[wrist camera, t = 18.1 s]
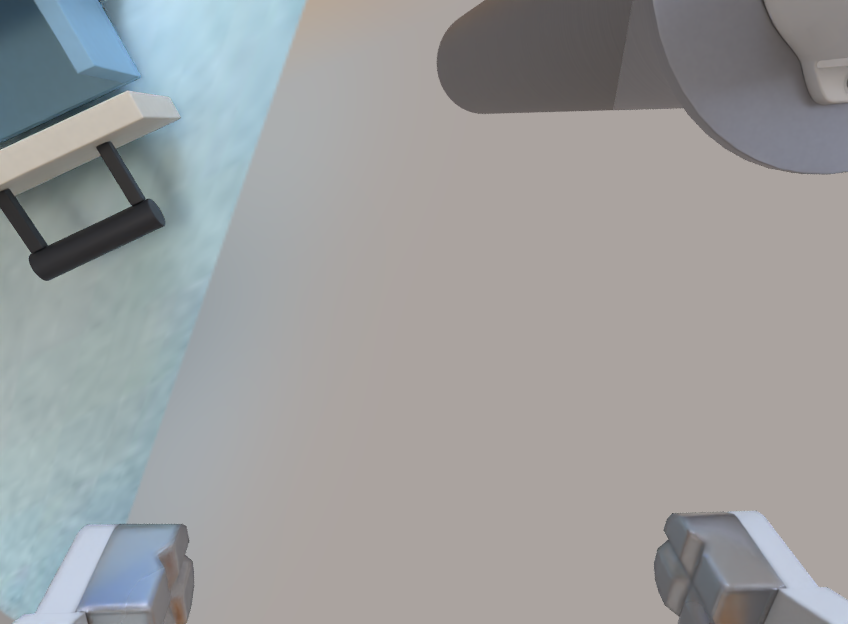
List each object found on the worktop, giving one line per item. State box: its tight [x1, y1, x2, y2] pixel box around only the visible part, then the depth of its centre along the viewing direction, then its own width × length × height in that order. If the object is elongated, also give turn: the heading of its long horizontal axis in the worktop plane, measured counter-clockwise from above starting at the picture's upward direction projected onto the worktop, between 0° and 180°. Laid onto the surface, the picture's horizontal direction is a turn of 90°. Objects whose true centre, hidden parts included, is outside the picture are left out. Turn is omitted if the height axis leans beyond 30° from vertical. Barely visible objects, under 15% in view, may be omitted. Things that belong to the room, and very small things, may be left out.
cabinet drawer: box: [0, 0, 181, 281], centre depth 28 cm, size 17×10×8 cm, turn 24°
